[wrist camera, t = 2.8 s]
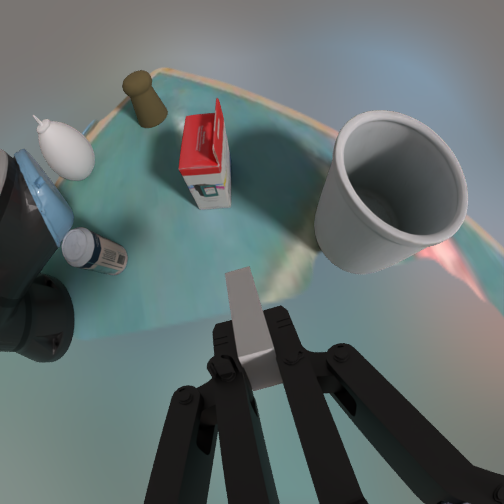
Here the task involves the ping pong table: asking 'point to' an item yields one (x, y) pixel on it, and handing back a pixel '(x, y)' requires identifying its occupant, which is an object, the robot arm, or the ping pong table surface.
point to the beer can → (93, 252)
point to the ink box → (206, 159)
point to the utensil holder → (388, 193)
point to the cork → (144, 99)
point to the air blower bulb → (65, 150)
